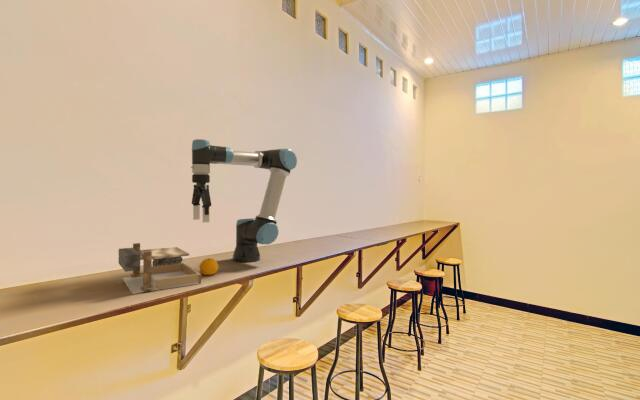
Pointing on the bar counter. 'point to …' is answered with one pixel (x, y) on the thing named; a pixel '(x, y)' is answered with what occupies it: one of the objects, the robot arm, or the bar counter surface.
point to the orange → (208, 266)
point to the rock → (167, 261)
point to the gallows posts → (144, 269)
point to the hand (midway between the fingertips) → (201, 220)
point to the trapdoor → (132, 257)
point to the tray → (166, 278)
